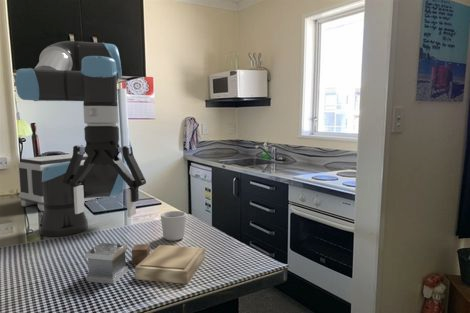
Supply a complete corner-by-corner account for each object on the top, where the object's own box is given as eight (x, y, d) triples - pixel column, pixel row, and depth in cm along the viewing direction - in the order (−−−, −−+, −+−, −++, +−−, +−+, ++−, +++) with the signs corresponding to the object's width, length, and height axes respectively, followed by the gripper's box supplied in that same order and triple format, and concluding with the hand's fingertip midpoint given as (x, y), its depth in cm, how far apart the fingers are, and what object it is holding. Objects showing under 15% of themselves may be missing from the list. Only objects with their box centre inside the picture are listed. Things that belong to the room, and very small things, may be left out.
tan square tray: (135, 279, 84) (135, 266, 84) (160, 255, 99) (159, 243, 98) (187, 283, 82) (187, 270, 81) (204, 258, 96) (204, 247, 96)
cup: (163, 231, 119) (163, 208, 118) (187, 231, 120) (187, 208, 119) (159, 243, 109) (159, 217, 108) (185, 242, 109) (185, 217, 108)
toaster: (111, 196, 173) (110, 154, 170) (42, 212, 144) (39, 161, 142) (88, 192, 183) (86, 152, 180) (19, 206, 154) (16, 158, 152)
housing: (86, 281, 83) (85, 251, 82) (102, 269, 90) (101, 241, 89) (113, 284, 82) (112, 253, 81) (128, 271, 89) (127, 243, 88)
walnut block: (132, 264, 93) (131, 249, 93) (135, 258, 97) (134, 244, 96) (147, 264, 93) (147, 249, 93) (149, 258, 97) (149, 244, 97)
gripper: (42, 125, 81) (48, 215, 83) (144, 125, 76) (147, 220, 78) (64, 124, 88) (68, 207, 90) (158, 124, 83) (160, 212, 86)
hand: (105, 214), depth 84 cm, fingers open, 13 cm apart
